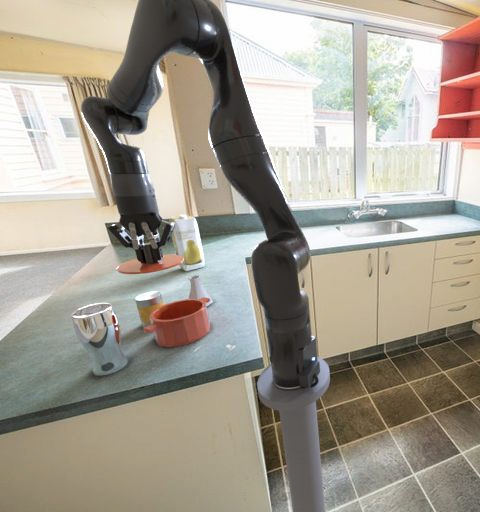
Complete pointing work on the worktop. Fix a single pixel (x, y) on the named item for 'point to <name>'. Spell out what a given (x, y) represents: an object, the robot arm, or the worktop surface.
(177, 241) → the juice carton
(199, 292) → the flask
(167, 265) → the lid
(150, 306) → the can
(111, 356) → the silver metal cup
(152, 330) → the pot
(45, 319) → the worktop surface
